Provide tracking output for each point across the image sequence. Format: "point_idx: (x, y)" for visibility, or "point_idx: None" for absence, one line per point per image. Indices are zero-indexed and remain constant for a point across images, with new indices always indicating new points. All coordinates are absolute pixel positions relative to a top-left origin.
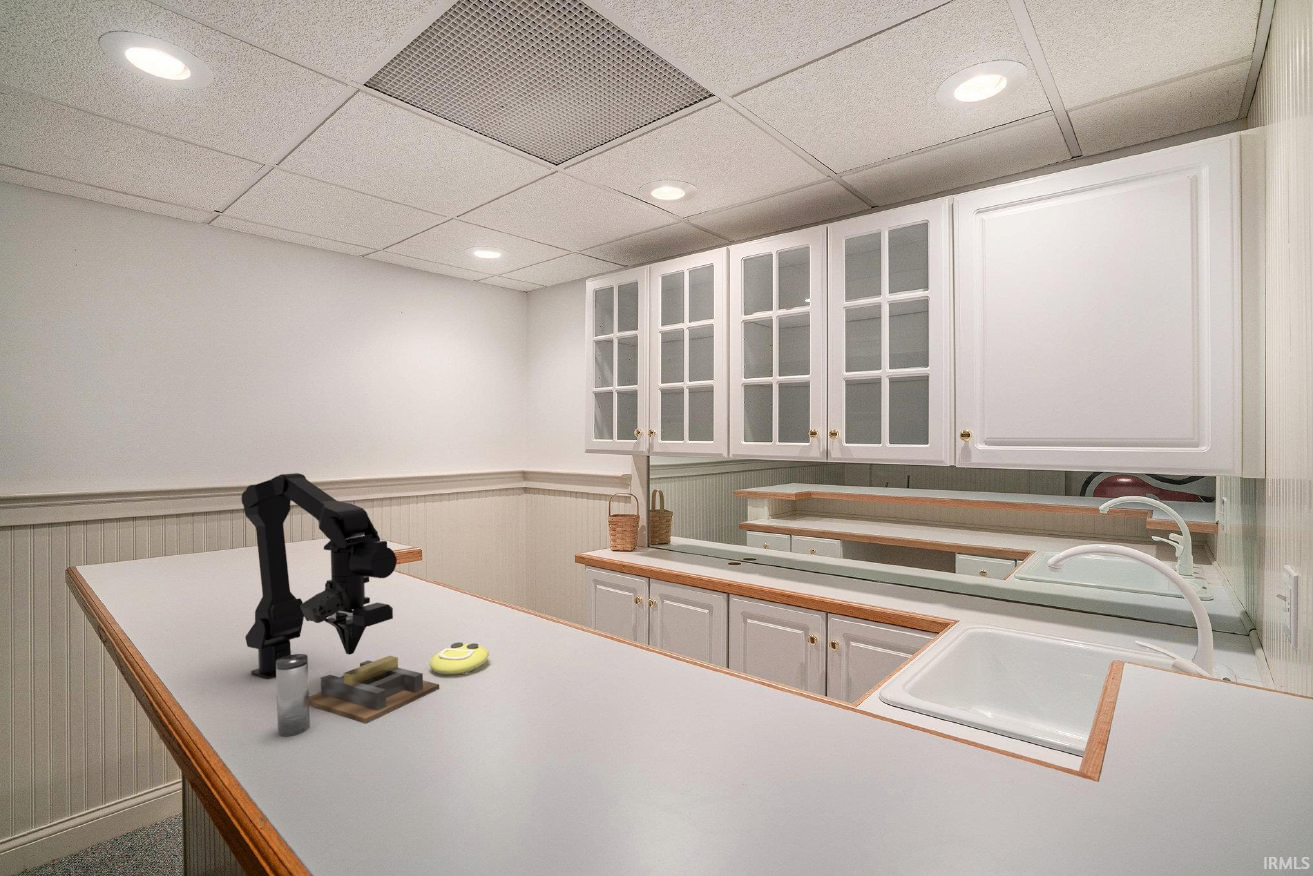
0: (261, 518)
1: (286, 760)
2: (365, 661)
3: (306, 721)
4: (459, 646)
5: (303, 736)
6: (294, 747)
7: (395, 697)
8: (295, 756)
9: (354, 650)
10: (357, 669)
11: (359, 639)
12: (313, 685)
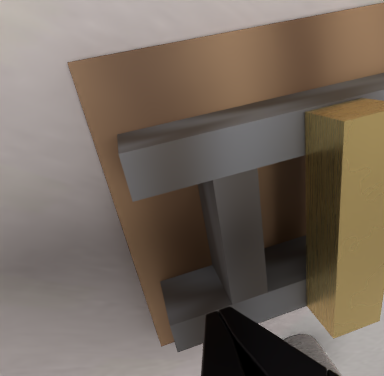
0: None
1: (378, 368)
2: (130, 171)
3: (328, 357)
4: None
5: (332, 345)
6: (354, 358)
7: None
8: (381, 358)
9: (240, 315)
10: (351, 296)
11: (299, 354)
12: (12, 295)
